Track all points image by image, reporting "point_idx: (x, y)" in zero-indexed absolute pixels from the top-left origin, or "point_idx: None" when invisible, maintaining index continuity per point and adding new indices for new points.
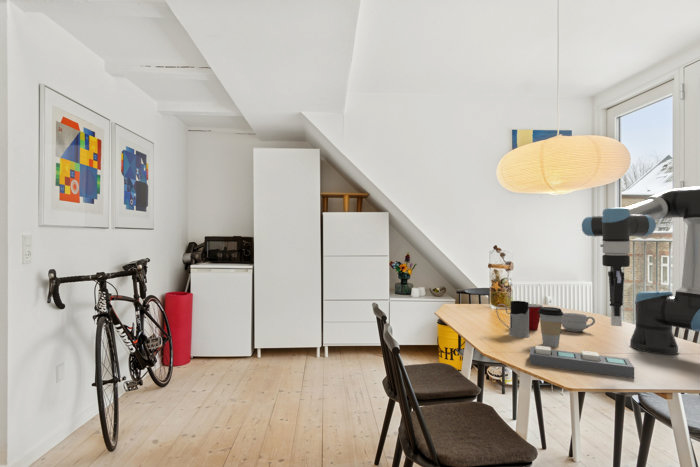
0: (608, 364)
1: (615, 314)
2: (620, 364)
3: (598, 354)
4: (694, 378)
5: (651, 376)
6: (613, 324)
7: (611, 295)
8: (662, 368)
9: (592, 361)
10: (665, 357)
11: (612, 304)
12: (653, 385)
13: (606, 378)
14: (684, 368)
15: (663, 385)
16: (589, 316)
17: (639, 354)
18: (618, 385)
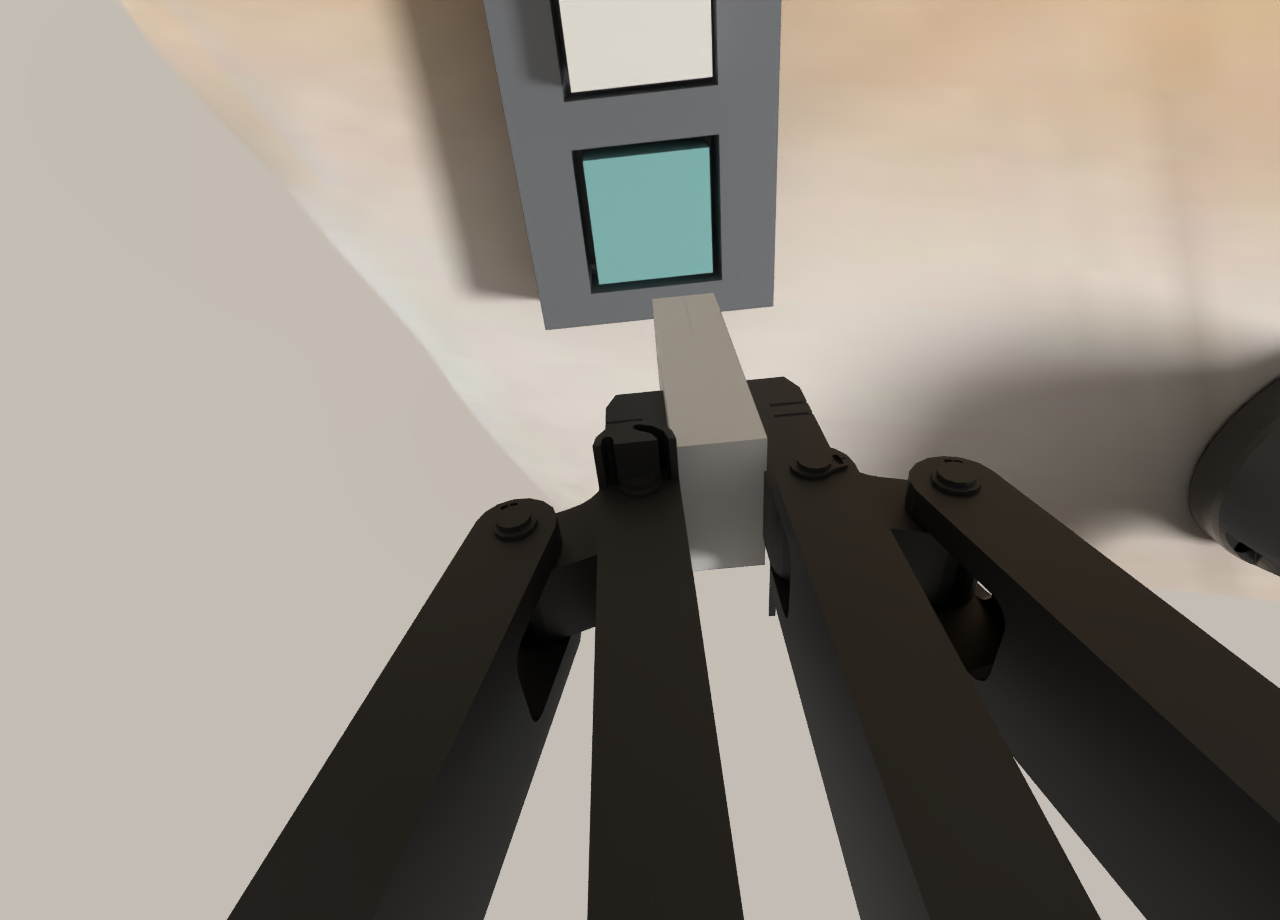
0: (514, 160)
1: (607, 419)
2: (564, 248)
3: (636, 82)
4: None
5: (659, 388)
6: (654, 323)
7: (822, 601)
8: (862, 449)
9: (507, 19)
10: (1117, 482)
11: (601, 482)
12: (480, 382)
13: (424, 128)
14: None
15: (517, 424)
16: None
17: (1167, 366)
18: (319, 202)
